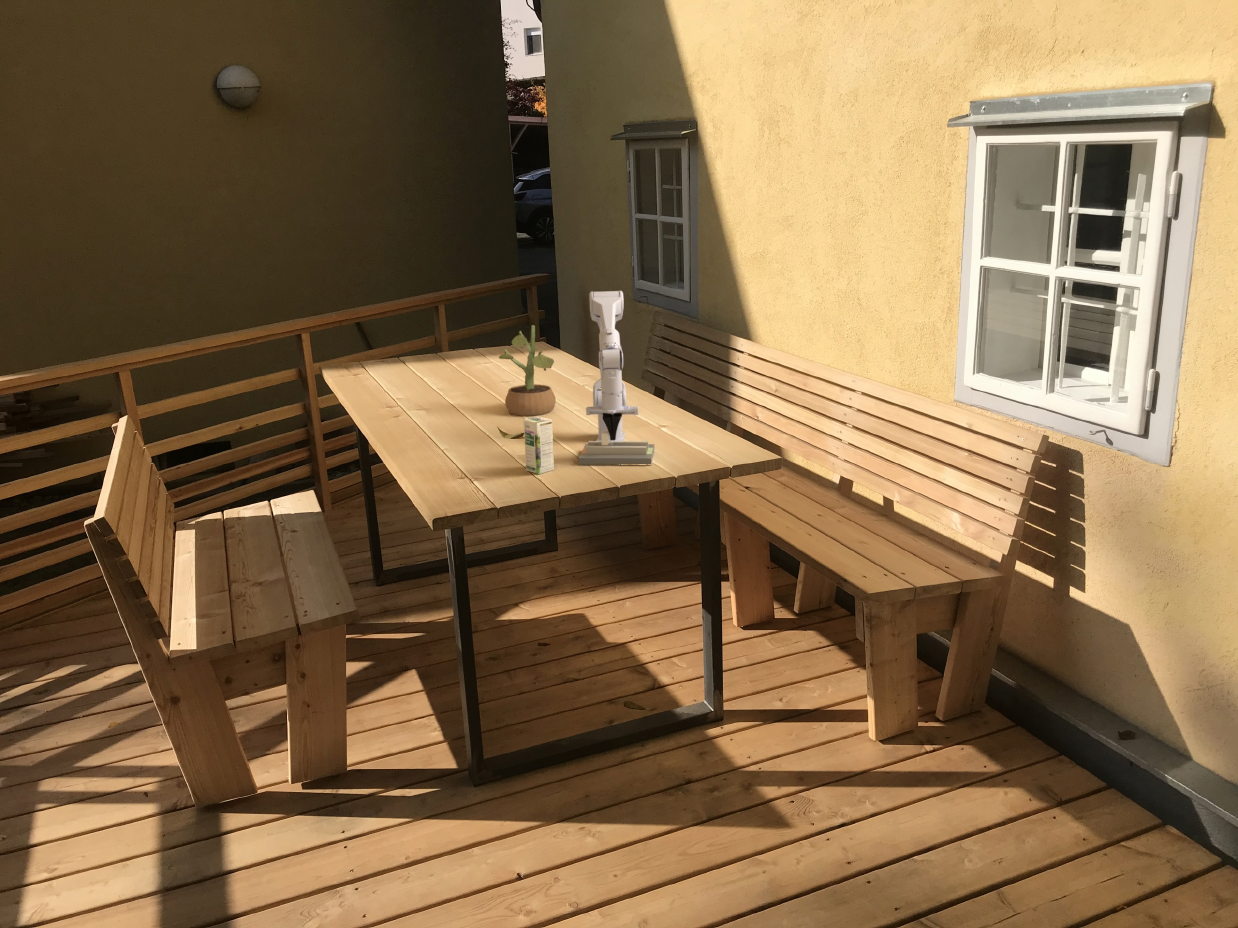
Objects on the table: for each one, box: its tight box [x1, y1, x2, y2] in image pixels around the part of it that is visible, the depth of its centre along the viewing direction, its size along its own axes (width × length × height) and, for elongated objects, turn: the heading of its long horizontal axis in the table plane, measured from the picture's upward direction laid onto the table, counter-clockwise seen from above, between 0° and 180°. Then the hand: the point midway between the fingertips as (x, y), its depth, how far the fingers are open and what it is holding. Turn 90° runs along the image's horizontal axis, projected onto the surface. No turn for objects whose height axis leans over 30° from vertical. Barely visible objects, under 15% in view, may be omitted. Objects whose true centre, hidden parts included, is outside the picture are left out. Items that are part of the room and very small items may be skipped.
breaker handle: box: [598, 430, 613, 446], centre depth 277 cm, size 3×4×5 cm
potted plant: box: [498, 325, 557, 417], centre depth 326 cm, size 22×18×30 cm
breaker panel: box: [578, 440, 655, 466], centre depth 277 cm, size 14×20×4 cm
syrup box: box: [523, 415, 555, 475], centre depth 267 cm, size 6×6×14 cm
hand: (613, 439), depth 277 cm, fingers closed
